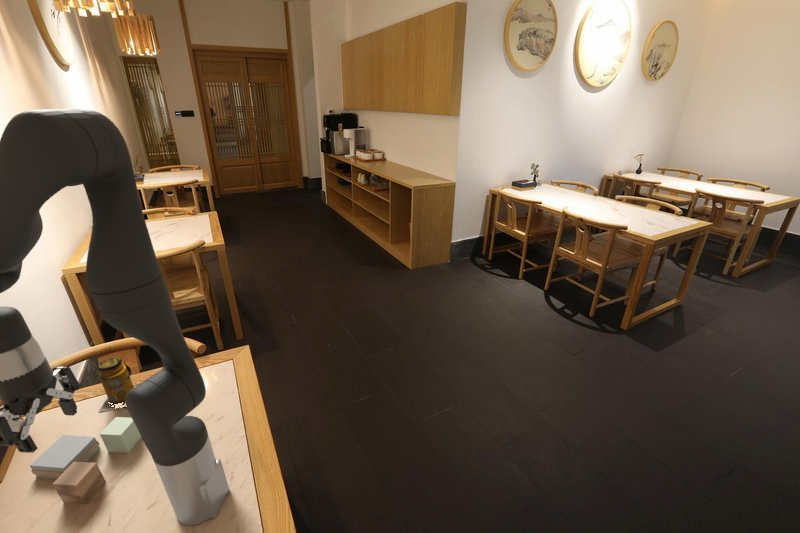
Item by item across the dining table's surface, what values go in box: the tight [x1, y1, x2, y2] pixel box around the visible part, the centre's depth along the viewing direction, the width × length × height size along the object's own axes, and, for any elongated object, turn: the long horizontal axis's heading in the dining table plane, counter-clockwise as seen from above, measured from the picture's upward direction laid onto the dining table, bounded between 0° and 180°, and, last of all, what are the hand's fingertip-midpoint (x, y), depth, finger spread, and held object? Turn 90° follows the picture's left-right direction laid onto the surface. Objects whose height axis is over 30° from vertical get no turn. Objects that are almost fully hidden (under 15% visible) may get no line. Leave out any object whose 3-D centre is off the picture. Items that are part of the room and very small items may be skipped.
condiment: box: [96, 356, 135, 413], centre depth 99 cm, size 7×8×12 cm
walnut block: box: [52, 461, 106, 505], centre depth 77 cm, size 5×5×6 cm
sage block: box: [99, 416, 142, 454], centre depth 88 cm, size 5×5×6 cm
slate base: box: [29, 434, 101, 480], centre depth 84 cm, size 8×8×4 cm
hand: (52, 431), depth 70 cm, fingers open, 8 cm apart
